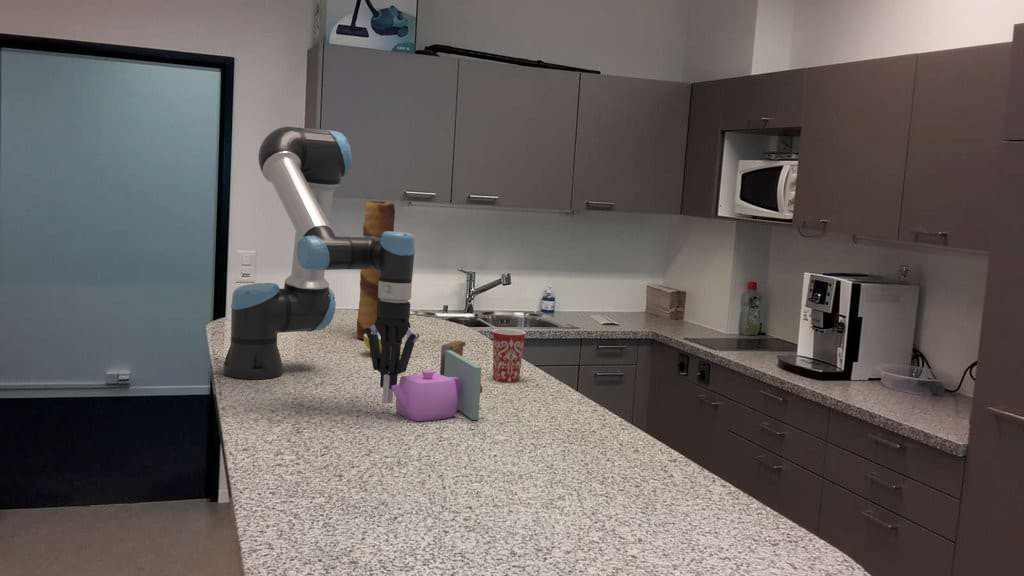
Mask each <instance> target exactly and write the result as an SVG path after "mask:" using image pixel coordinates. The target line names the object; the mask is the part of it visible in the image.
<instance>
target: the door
mask: <svg viewBox="0 0 1024 576" xmlns="http://www.w3.org/2000/svg"><path fill="white" fill-rule="evenodd" d="M482 369H483V368H482V366H480V365H478V364H476V363H475V362H473V361H471V360H469V359H467V358H465V357H464V356H460V355H459V354H457V353H455V352H453V351H452V350H446V351H445V369H444V376H446V377H457V378H460V397H459V398H457V411H459V412H461V413H462V414H463V415H464V416H466V417H468V418H469V419H470V420H471V421H476V420H477V421H478V420H479V418H480V417H479V416H480V415H479V414H480V402H481V401H480V400H481V398H480V397H481V394H482V393H483V385H482V383H481V382H482Z"/></svg>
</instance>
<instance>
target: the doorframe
mask: <svg viewBox="0 0 1024 576" xmlns="http://www.w3.org/2000/svg"><path fill="white" fill-rule="evenodd" d="M464 347H466V341H463V340H461V341H460V340H454V341H450V342H447V343H445V344H443V345H441V348H440V351H441V352H440V365H439V366H440V367H439V368H440V370H439V374H440V375H443V376H444V369H445V351H446V350H452V351H453V352H455V353H457V354H459V355H460V356H462V357H464V356H463V353H464Z"/></svg>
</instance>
